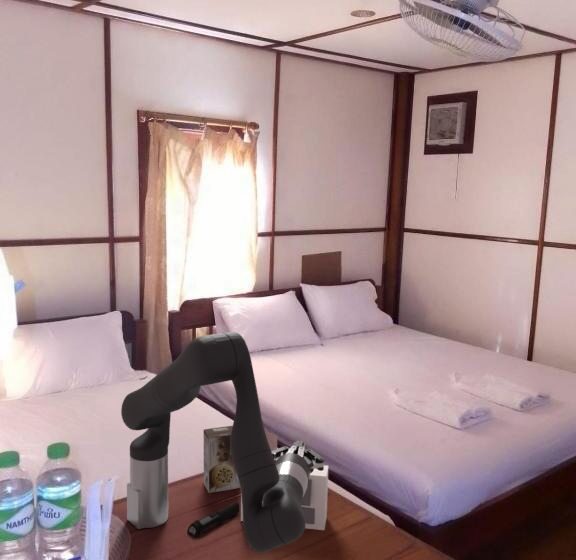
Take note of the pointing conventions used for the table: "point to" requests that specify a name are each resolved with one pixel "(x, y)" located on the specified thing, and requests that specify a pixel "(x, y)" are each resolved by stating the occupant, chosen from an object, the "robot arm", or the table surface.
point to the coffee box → (219, 460)
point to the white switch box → (314, 501)
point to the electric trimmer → (212, 520)
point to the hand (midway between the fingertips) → (300, 444)
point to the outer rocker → (307, 495)
